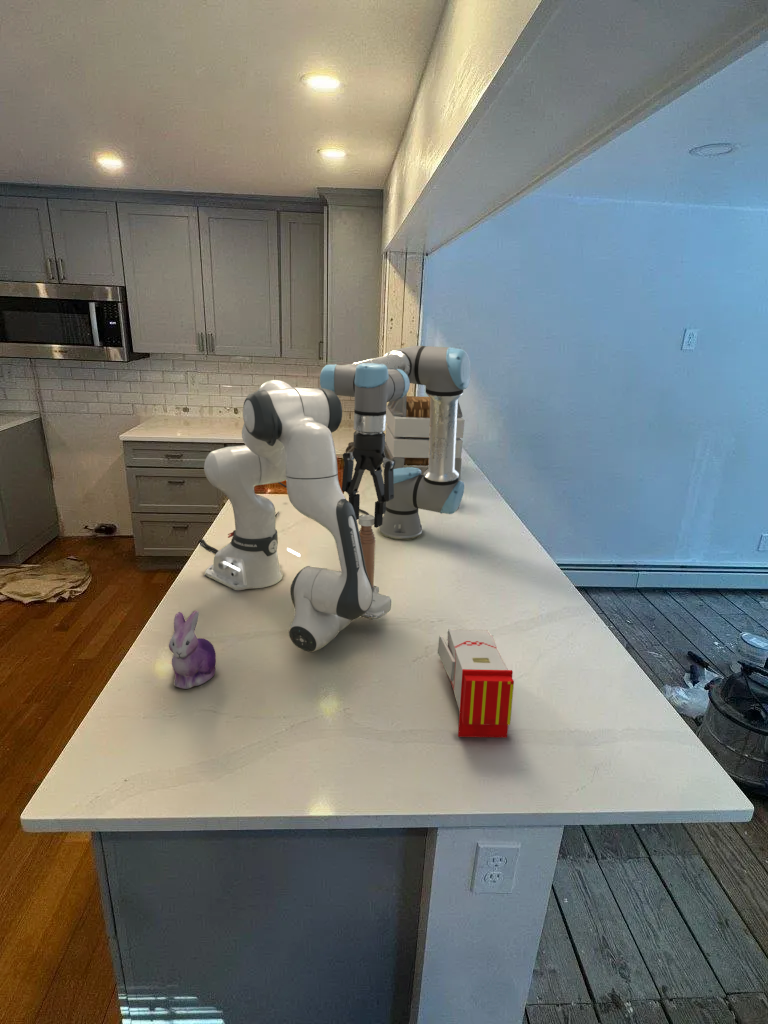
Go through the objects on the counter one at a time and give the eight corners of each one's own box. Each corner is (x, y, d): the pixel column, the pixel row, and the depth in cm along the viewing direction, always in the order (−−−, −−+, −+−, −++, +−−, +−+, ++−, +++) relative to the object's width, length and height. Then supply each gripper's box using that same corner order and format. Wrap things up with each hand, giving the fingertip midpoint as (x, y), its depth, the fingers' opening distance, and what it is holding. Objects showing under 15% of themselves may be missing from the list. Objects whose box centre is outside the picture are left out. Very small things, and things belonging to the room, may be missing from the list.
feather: (286, 506, 225) (288, 502, 225) (268, 529, 199) (271, 525, 198) (282, 503, 225) (284, 499, 225) (264, 526, 199) (267, 522, 198)
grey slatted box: (382, 463, 289) (386, 382, 275) (445, 464, 293) (451, 384, 279) (390, 482, 257) (394, 392, 243) (460, 483, 261) (468, 394, 247)
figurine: (175, 696, 113) (169, 631, 108) (168, 668, 121) (161, 606, 116) (223, 684, 117) (219, 621, 112) (213, 658, 126) (208, 598, 120)
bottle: (359, 614, 146) (362, 524, 138) (351, 605, 150) (353, 518, 142) (375, 610, 149) (379, 522, 140) (367, 602, 153) (370, 515, 144)
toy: (488, 613, 130) (523, 677, 101) (484, 667, 133) (517, 744, 104) (435, 612, 130) (455, 676, 101) (432, 666, 133) (451, 743, 103)
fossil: (345, 440, 315) (366, 425, 310) (356, 453, 318) (377, 439, 313) (338, 454, 296) (361, 438, 291) (350, 468, 298) (372, 452, 293)
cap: (356, 524, 140) (356, 518, 140) (361, 519, 144) (361, 513, 143) (371, 527, 139) (371, 521, 139) (376, 522, 143) (376, 515, 142)
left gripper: (377, 608, 131) (402, 584, 143) (303, 586, 139) (332, 566, 151) (376, 631, 133) (401, 606, 145) (303, 609, 142) (332, 587, 153)
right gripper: (412, 434, 132) (407, 526, 140) (345, 423, 141) (343, 510, 149) (397, 440, 126) (392, 536, 134) (327, 428, 135) (326, 518, 143)
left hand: (365, 585), depth 148 cm, fingers closed on bottle, 5 cm apart
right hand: (366, 522), depth 141 cm, fingers open, 6 cm apart
